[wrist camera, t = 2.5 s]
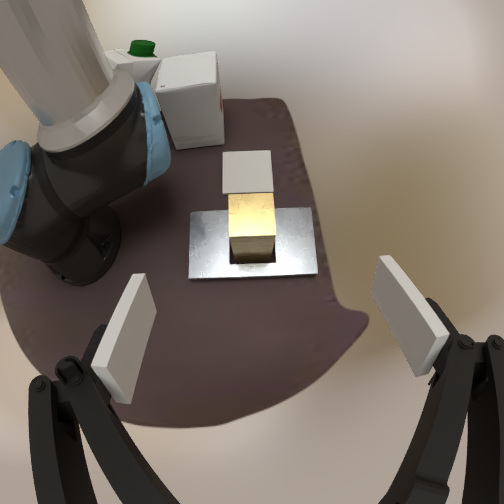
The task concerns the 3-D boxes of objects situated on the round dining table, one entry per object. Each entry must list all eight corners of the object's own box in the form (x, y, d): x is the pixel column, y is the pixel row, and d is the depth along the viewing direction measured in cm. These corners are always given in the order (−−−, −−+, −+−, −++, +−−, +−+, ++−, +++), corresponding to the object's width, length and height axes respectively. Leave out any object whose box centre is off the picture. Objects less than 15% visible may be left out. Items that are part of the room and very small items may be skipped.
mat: (222, 195, 45) (222, 193, 45) (223, 154, 47) (222, 152, 47) (273, 193, 45) (273, 191, 45) (270, 152, 47) (270, 150, 47)
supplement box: (225, 145, 48) (217, 83, 33) (175, 151, 48) (152, 92, 33) (224, 109, 50) (217, 49, 36) (178, 115, 50) (161, 57, 36)
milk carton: (145, 148, 48) (170, 49, 34) (103, 162, 43) (117, 51, 28) (124, 127, 50) (143, 36, 36) (85, 139, 44) (96, 39, 30)
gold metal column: (235, 262, 42) (228, 236, 31) (234, 230, 44) (228, 194, 32) (269, 261, 42) (276, 234, 31) (268, 229, 44) (272, 192, 32)
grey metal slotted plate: (191, 280, 42) (188, 278, 40) (193, 217, 44) (190, 211, 42) (314, 275, 42) (317, 273, 40) (308, 212, 44) (310, 207, 42)
